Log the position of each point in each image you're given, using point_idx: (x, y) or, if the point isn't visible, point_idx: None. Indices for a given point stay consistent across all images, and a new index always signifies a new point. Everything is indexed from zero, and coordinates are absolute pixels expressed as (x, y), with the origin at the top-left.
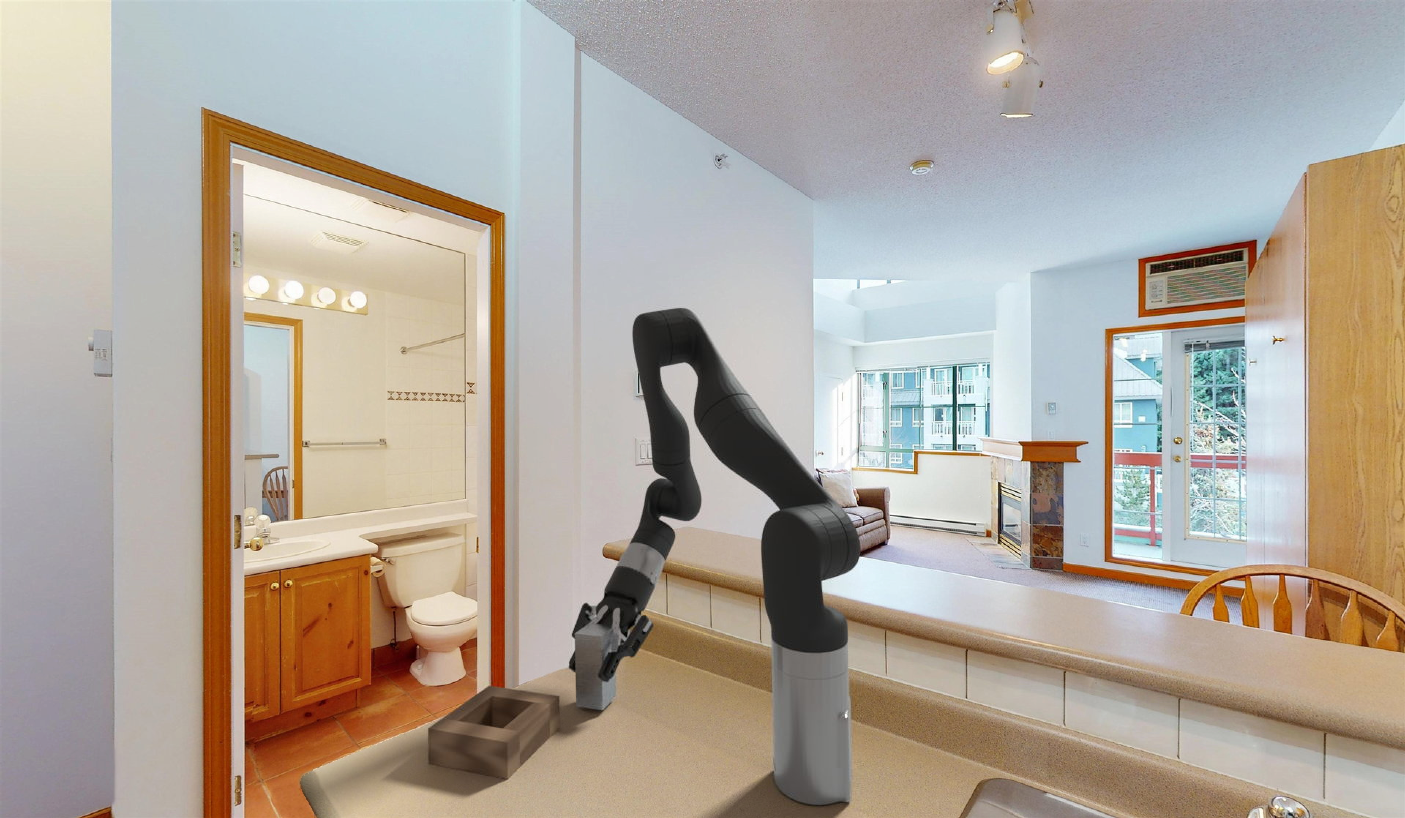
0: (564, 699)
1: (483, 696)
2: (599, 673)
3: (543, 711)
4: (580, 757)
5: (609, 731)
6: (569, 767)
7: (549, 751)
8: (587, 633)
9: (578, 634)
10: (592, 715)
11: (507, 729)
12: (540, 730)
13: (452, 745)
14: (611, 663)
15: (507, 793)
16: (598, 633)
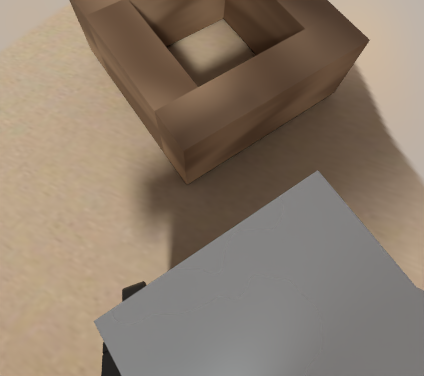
0: None
1: (314, 15)
2: (136, 286)
3: (138, 90)
4: (50, 173)
5: (88, 276)
6: (38, 142)
7: (121, 135)
8: (253, 253)
9: (291, 191)
10: None
11: (115, 3)
12: (138, 105)
13: None
14: (110, 358)
15: (61, 42)
16: (183, 339)
